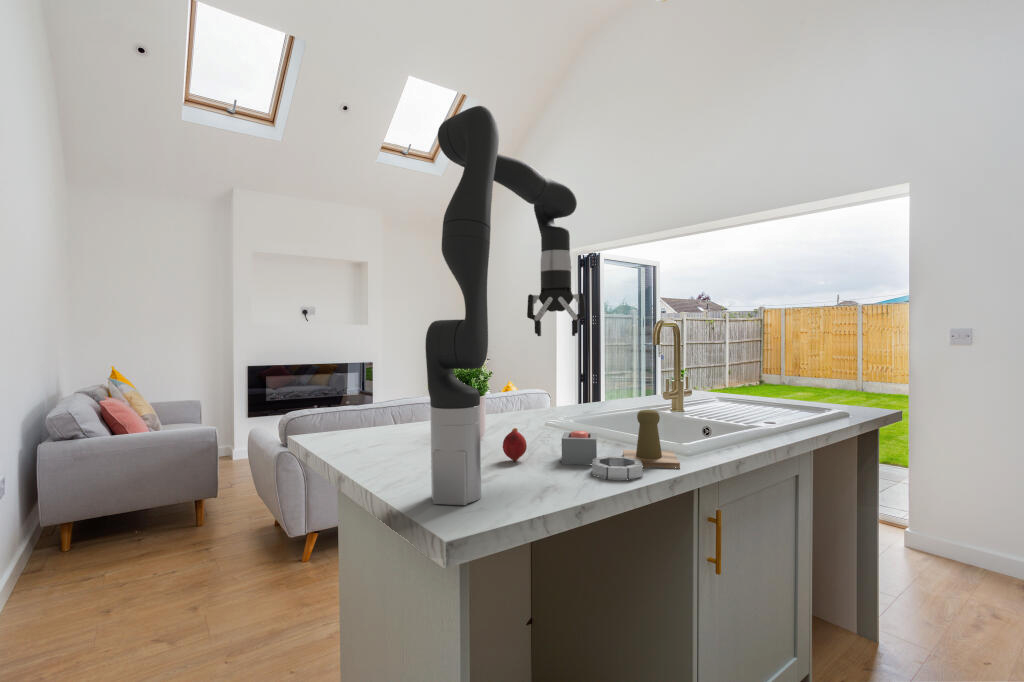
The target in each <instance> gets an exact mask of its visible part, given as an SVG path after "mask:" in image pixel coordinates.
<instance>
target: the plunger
mask: <svg viewBox="0 0 1024 682" xmlns="http://www.w3.org/2000/svg"><path fill="white" fill-rule="evenodd" d="M570 432H571V438H588V433H589V432H588V431H587V430H586V431H583V430H573V431H570Z"/></svg>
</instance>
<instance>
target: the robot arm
mask: <svg viewBox="0 0 1024 682" xmlns="http://www.w3.org/2000/svg"><path fill="white" fill-rule="evenodd" d="M499 133H500V132H499V126H498V122H497V119H496V117H495V115H494V113H493V112H492V111H491V109H489V108H488V107H486V106H483V105H476V106H472V107H470V108H467V109H465V110H462V111H461V112H459V113H457V114H454V115H452V116H451V117H449V118H447V119H446V120H444V121H443V122H442V123H441V124H440V125H439V127H438V131H437V141H438V145H439V148H440V149H441V151H442V153H443V154H444V155H445V157H446V158H447V159H448V160H450V161H451V162H453V163H454V164H456V165H458V166H459V167H462V168H464V169H463V172H462V176H461V178H460V179H459V183H458V185H457V187H456V188H455V190H454V192H453V194H452V197H451V198H450V201H449V203H448V205H447V207H446V210H445V212H444V215H443V219H442V220H443V221H442V231H441V233H442V234H441V253H442V257H443V259H444V261H445V263H446V266H447V268H448V269H449V271H450V272H451V274H452V276H453V277H454V279H455V280H456V282H457V284H458V286H459V287H460V288H459V289H460V290H461V293H462V297H463V299H464V309H465V311H464V313H465V315H464V316H465V317H464V319H440V320H439V319H437V320H434V321H432V322H431V323H430V325H429V326H428V328H427V331H426V335H425V345H424V346H425V360H426V361H425V364H426V374H427V376H426V377H427V378H426V379H427V390H428V391H427V392H428V394H429V401H430V402H429V404H430V463H431V464H430V469H431V471H430V477H431V478H430V479H431V500H432V504H434V505H447V506H448V505H453V506H467V505H468V504H470V503H473V502H475V501H478V500H480V499H481V497H482V468H481V467H482V466H481V464H482V462H481V458H482V457H481V397H480V395H481V394H480V391H479V390H478V389H477V388H475V387H473V386H470V385H468V384H466V383H464V382H462V381H461V380H459V379H458V378H457V377H456V375H455V373H454V370H476V369H477V370H478V369H481V368H482V367H483V366H484V365H485V362H486V359H487V356H488V350H489V349H488V348H489V324H488V323H489V322H488V321H489V319H488V314H489V313H488V277H489V275H488V272H489V258H490V247H491V245H490V244H491V219H492V217H491V216H492V215H491V213H492V202H493V200H492V199H493V188H494V182H495V183H498V184H500V186H503V187H505V188H507V189H508V190H509V191H511V192H512V193H514V194H515V195H516V196H518V197H519V198H521V199H522V200H523V201H525V202H527V203H528V204H530V205H533V210H534V214H535V215H534V216H535V218H536V221H537V222H536V223H537V226H538V230H539V233H540V239H541V241H540V242H541V243H540V245H541V247H540V248H541V251H540V252H541V254H540V255H541V256H540V293H539V295H537V294H535V295H534V294H528V296H527V312H526V317H527V319H530V320H533V321H534V334H535V335H537V337H541V336H542V321H541V319H542V318H543V316H545V314H546V313H547V312H550V313H551V312H552V313H553V312H564V311H566V312H567V313H568V314H569V316H570V317H571V319H572V320H571V336H572V337H575V336H576V334H578V333H579V320H582V319H584V318H585V317H586V304H585V303H586V302H585V295H584V293H582V292H580V293H575V294H573V292H572V260H571V254H570V253H571V252H570V250H571V248H570V246H571V244H570V239H571V237H570V230H569V229H568V228H566V227H563V226H557V225H556V224H555V220H556V219H561V218H567V217H569V216H571V215H573V213H575V211H576V209H577V207H578V205H577V204H578V203H577V196H576V194H575V193H574V191H573V190H572V189H571V188H570V186H567V185H566V184H564V183H561V182H559V181H557V180H555V179H553V178H548V177H546V176H544V175H543V174H542V173H541V172H539V171H538V170H537V169H536V168H535V167H533V166H532V165H530V164H529V163H527V162H525V161H523V160H520V159H517V158H513V157H510V156H506V155H503V154H500V153H498V152H499V142H500V134H499ZM538 300H539V302H540V303H541V305H542V306H541V307H540V309H539V310H538V312H537V313H536V315H535V314H534V311H535V310H534V309H535V307H534V306H535V305H534V304H537V303H538ZM573 300H575V301H576V303H578V304H579V313H577V314H576V313H575V311H574V310H573V308H572V307H571V306H570V304H571V303H572V301H573Z"/></svg>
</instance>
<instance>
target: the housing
mask: <svg viewBox="0 0 1024 682" xmlns="http://www.w3.org/2000/svg"><path fill="white" fill-rule="evenodd" d="M571 432H572V431H568V432H565V431H564V432H563V434H562V437H561V465H574V464H592V461H593V459H594V458H598V456H597V455H598V452H597V451H598V449H597V443H598V441H597V439H598V437H597V435H598V434H597V432H588V438H571Z"/></svg>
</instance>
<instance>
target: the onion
mask: <svg viewBox="0 0 1024 682" xmlns="http://www.w3.org/2000/svg"><path fill="white" fill-rule="evenodd" d="M527 447H528V446H527V440H526V439H525V437H524V435H523V434H522V433H520V432H519V431H518V428H517V427H513V428H512V430H511V432H509V433H508V434H507V435H506V436H505V437H504V439H503V442H502V451H503V453H504V454H505V456H506V457H508V459H510V460H512V461H513V462H516V461H518V460H519V459H520V458H521V457H522V456H524V454H525V453H526V451H527Z"/></svg>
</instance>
